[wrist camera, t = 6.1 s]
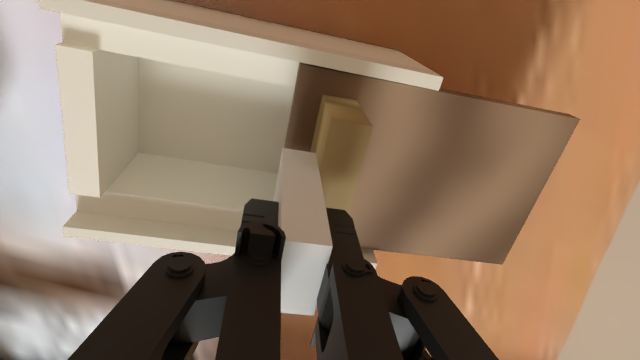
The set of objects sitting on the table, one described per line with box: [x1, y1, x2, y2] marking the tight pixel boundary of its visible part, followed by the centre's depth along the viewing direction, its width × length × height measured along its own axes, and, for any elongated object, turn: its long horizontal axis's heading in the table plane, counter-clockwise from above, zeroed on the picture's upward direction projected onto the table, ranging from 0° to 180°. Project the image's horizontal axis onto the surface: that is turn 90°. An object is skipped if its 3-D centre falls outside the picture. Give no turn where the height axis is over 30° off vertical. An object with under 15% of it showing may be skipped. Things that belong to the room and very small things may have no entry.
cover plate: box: [284, 62, 580, 264], centre depth 18 cm, size 14×9×4 cm, turn 78°
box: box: [39, 0, 444, 269], centre depth 21 cm, size 16×11×7 cm
